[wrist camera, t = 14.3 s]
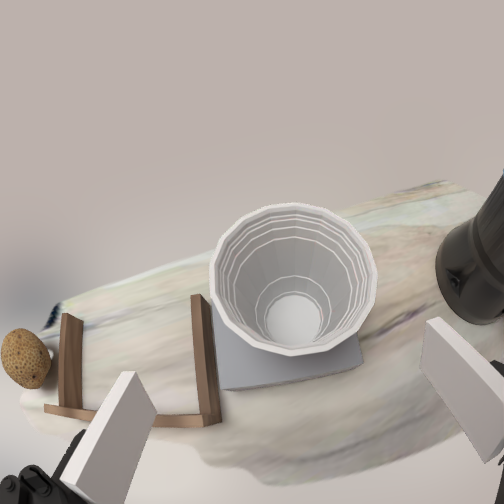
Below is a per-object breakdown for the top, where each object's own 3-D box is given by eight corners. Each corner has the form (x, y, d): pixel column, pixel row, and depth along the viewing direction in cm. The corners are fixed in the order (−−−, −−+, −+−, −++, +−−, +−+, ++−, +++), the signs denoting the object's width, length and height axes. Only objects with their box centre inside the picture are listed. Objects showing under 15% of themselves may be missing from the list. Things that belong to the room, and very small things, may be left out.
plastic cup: (365, 349, 25) (410, 312, 14) (259, 388, 24) (233, 381, 14) (324, 257, 30) (335, 180, 20) (229, 290, 30) (193, 225, 20)
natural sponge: (67, 391, 32) (19, 379, 23) (35, 394, 31) (-9, 383, 23) (62, 336, 36) (19, 316, 28) (32, 345, 36) (-9, 327, 27)
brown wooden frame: (209, 305, 36) (191, 283, 30) (222, 422, 28) (203, 427, 22) (78, 321, 37) (48, 306, 31) (77, 415, 30) (44, 412, 24)
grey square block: (326, 264, 36) (330, 240, 31) (352, 369, 29) (363, 363, 24) (221, 284, 37) (208, 263, 32) (233, 391, 30) (220, 389, 25)
